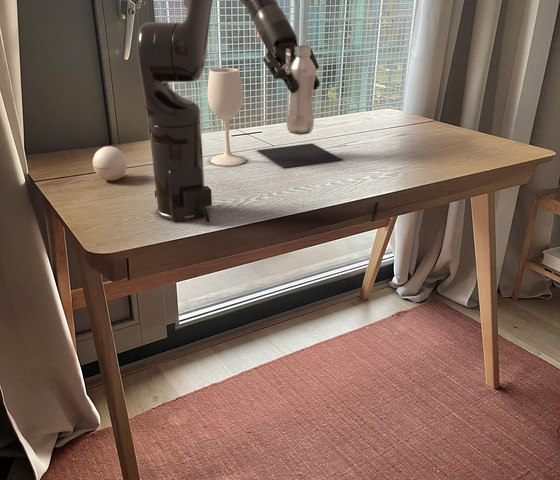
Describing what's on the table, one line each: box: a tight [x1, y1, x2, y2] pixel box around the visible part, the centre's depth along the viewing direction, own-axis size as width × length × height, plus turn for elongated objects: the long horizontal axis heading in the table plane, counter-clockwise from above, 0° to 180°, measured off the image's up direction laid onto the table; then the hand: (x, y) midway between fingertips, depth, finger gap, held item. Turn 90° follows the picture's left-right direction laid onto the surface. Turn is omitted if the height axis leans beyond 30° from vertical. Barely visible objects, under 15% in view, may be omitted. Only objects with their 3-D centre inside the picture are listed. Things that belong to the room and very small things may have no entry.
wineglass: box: [207, 67, 247, 167], centre depth 135 cm, size 9×9×21 cm
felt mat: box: [257, 142, 343, 169], centre depth 144 cm, size 16×16×1 cm
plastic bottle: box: [286, 45, 317, 136], centre depth 136 cm, size 6×7×20 cm
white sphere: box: [82, 145, 128, 182], centre depth 125 cm, size 10×7×7 cm
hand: (306, 89), depth 135 cm, fingers closed on plastic bottle, 6 cm apart
